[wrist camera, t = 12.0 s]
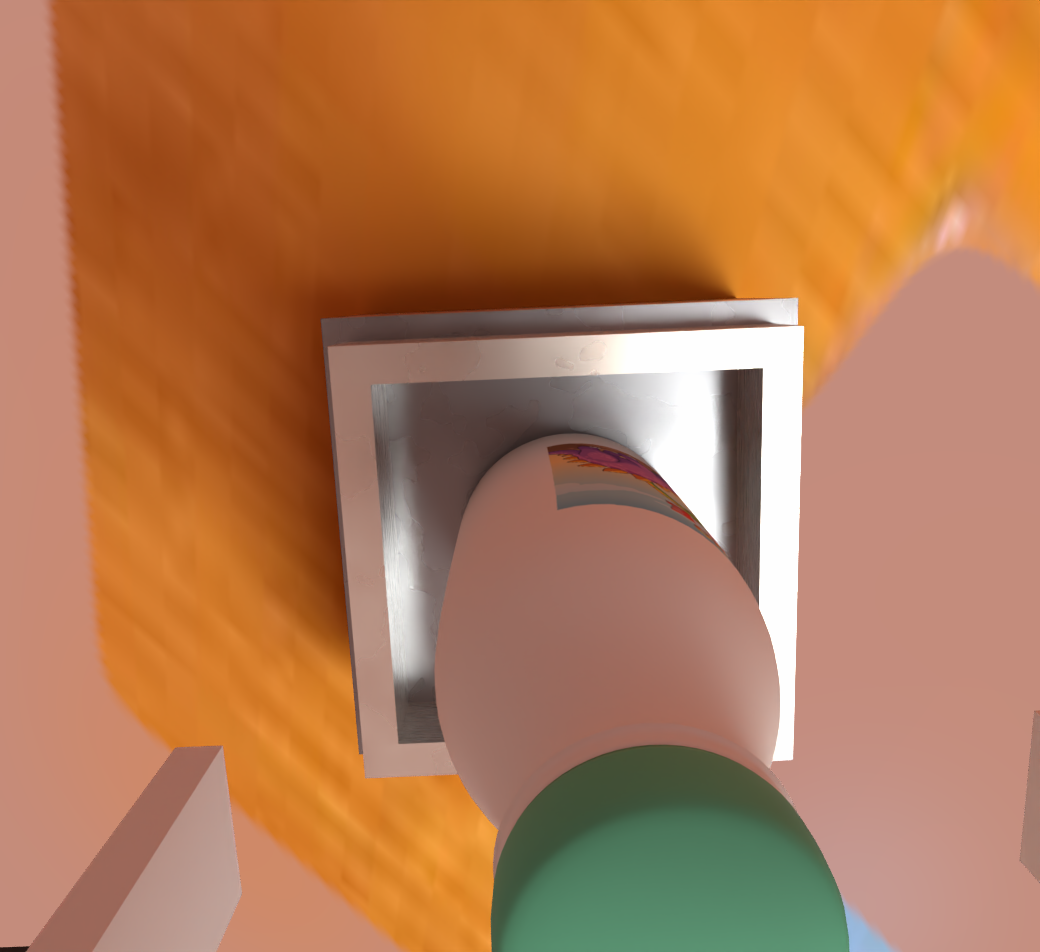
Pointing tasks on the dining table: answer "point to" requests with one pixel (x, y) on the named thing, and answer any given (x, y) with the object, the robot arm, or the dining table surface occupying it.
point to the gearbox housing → (532, 415)
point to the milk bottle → (620, 718)
